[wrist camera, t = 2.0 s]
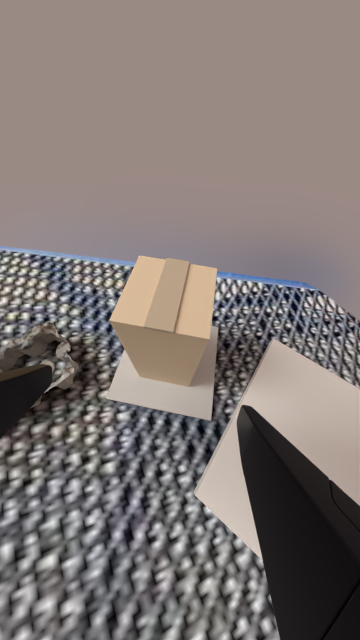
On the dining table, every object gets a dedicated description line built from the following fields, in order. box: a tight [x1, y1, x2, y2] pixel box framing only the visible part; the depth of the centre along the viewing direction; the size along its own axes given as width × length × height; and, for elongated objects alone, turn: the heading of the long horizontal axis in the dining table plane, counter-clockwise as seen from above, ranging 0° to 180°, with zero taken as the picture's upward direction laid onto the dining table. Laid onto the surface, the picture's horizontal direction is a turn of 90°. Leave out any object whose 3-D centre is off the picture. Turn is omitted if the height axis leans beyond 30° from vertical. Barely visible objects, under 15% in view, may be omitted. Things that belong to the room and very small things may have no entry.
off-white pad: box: [194, 339, 360, 560], centre depth 17 cm, size 18×14×1 cm
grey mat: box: [106, 326, 218, 421], centre depth 21 cm, size 11×11×1 cm
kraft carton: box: [109, 256, 217, 387], centre depth 16 cm, size 6×6×12 cm
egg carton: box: [0, 322, 79, 408], centre depth 18 cm, size 10×7×4 cm
